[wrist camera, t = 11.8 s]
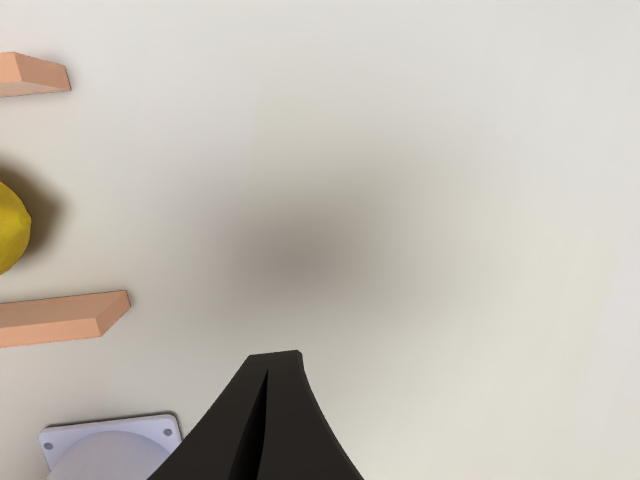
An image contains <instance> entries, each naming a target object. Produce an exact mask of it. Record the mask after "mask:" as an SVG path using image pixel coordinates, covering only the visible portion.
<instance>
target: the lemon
mask: <svg viewBox="0 0 640 480" xmlns="http://www.w3.org/2000/svg"><path fill="white" fill-rule="evenodd" d="M30 225H31V217H30V215H29V214H28V213H27V210H26V208H25V206H24V205H23V203H22V201H21V200H20V198H19V197H18V196H17V195H16V194H15V193H14V192H13V191H12V190H11V189H10V188H9V187H7V186H6V185H5V184H3V183H2V182H1V181H0V275H2V274H3V273H5V272H6V271H8V270H9V269H10V268H11V267H12V266H13V265H14V264H15V263H16V262H17V261H18V260H19V259H20V258H21V256H22V254H23V253H24V251H25V249H26V247H27V245H28V242H29V238H30V228H31V226H30Z"/></svg>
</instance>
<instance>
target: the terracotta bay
mask: <svg viewBox="0 0 640 480" xmlns="http://www.w3.org/2000/svg"><path fill="white" fill-rule="evenodd" d="M69 90H71V88H70V84H69V81H68V77H67V74H66V70H65V66H61V65H58V64H54V63H51V62H47V61H44V60H40V59H37V58H33V57H30V56H26V55H22V54H19V53H15V52H7V53H0V97H8V96H18V95H28V94H38V93H49V92H59V91H69ZM129 308H130V303H129V300H128V296H127V292H126V290H124V291H115V292H106V293H97V294H87V295H78V296H69V297H59V298H50V299H41V300H32V301H22V302H13V303H4V304H0V348H5V347H14V346H23V345H32V344H41V343H50V342H60V341H69V340H78V339H87V338H96V337H101V336H102V335H103V334H104V333H105V332H106V331H107V330H108V329H109V328H110V327H111V326H112V325H113V324H114V323H115V322H116V321H117V320H118V319H119V318H120V317H121V316H122V315H123V314H124V313H125V312H126V311H127V310H128V309H129Z"/></svg>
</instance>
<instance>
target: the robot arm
mask: <svg viewBox="0 0 640 480" xmlns="http://www.w3.org/2000/svg"><path fill="white" fill-rule="evenodd" d="M167 429H170V430H171V431H169V430H167ZM38 441H39V444H40V446H41V449H42V451H43V454H44V456H45V459H46V461H47V464H48V466H49V469H50V471H51V473H50V474H49V476H48V477H47V478H46V480H364V479H363V477H362V476H361V474H360V473H359V472H358V470H357V469H356V467H355V466H354V465H353V463H352V462H351V460H350V459H349V457H348V456H347V454H346V453H345V451H344V450H343V448H342V446H341V445H340V443H339V442H338V440H337V438H336V437H335V435H334V433H333V432H332V430H331V428H330V426H329V424H328V423H327V421H326V419H325V417H324V415H323V413H322V411H321V409H320V407H319V405H318V403H317V401H316V399H315V397H314V394H313V392H312V390H311V388H310V385H309V383H308V380H307V377H306V374H305V371H304V365H303V358H302V353H301V352H299V351H298V350H291V351H283V352H274V353H265V354H256V355H249V356H248V358H247V359H246V360H245V361H244V363H243V364H242V366H241V367H240V368H239V370H238V371H237V373H236V374H235V375H234V377H233V378H232V380H231V381H230V382H229V384H228V385H227V386H226V388H225V389H224V390H223V392H222V393H221V394H220V396H219V397H218V398H217V400H216V401H215V402H214V403H213V405H212V406H211V407H210V409H209V410H208V411H207V412H206V414H205V415H204V416H203V417H202V419H201V420H200V421H199V422H198V423H197V425H196V426H195V427H194V428H193V429H192V430H191V432H190V433H189V434H188V435H187V436H186V437H185V439H184V440H183V441H182V440H181V436H180V432H179V428H178V424H177V421H176V418H175V417H174V416H172V415H170V414H164V415H156V416H147V417H138V418H129V419H121V420H112V421H103V422H94V423H86V424H77V425H68V426H59V427H51V428H45V429H43V430H42V431H41V432H40V433H39V435H38Z"/></svg>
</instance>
